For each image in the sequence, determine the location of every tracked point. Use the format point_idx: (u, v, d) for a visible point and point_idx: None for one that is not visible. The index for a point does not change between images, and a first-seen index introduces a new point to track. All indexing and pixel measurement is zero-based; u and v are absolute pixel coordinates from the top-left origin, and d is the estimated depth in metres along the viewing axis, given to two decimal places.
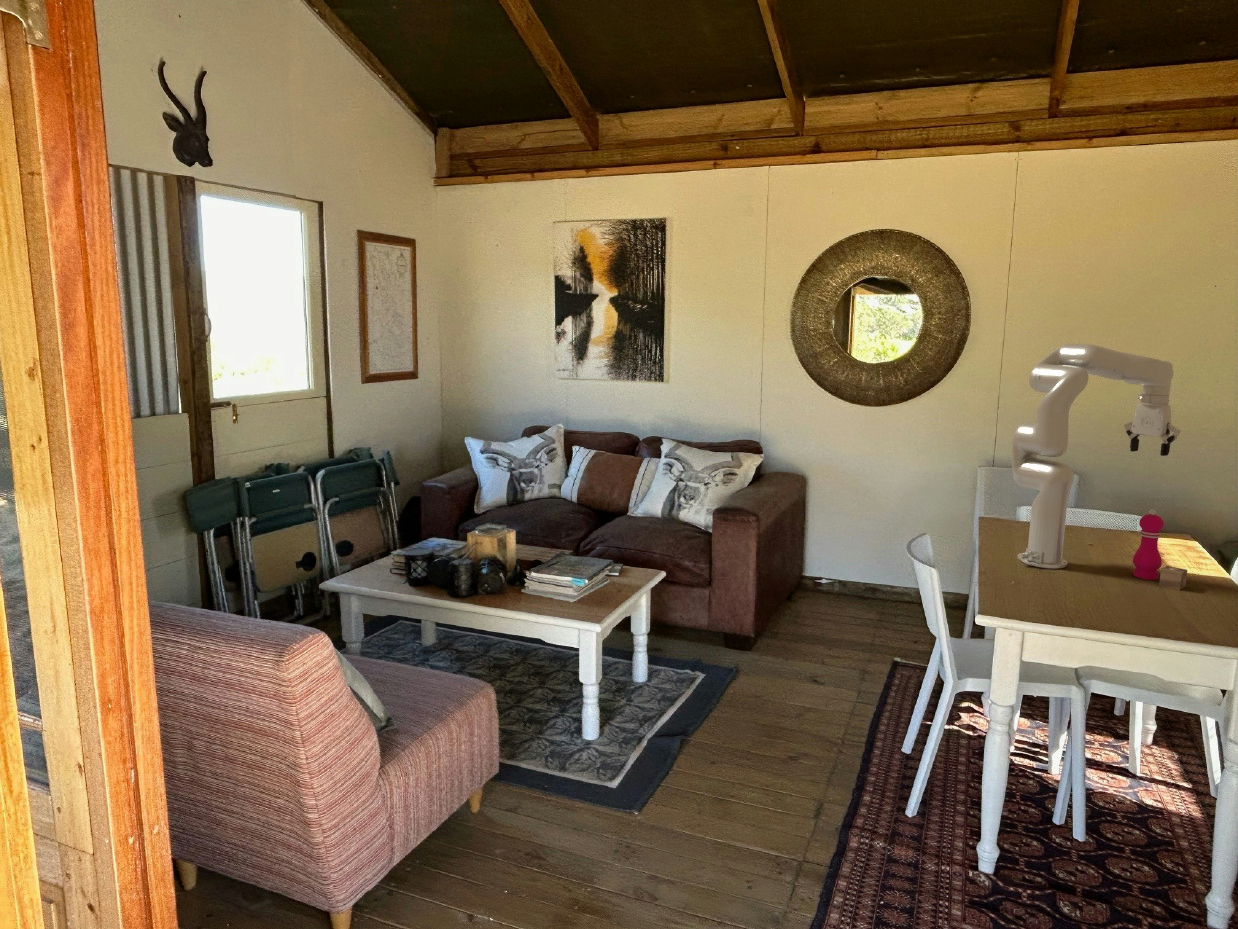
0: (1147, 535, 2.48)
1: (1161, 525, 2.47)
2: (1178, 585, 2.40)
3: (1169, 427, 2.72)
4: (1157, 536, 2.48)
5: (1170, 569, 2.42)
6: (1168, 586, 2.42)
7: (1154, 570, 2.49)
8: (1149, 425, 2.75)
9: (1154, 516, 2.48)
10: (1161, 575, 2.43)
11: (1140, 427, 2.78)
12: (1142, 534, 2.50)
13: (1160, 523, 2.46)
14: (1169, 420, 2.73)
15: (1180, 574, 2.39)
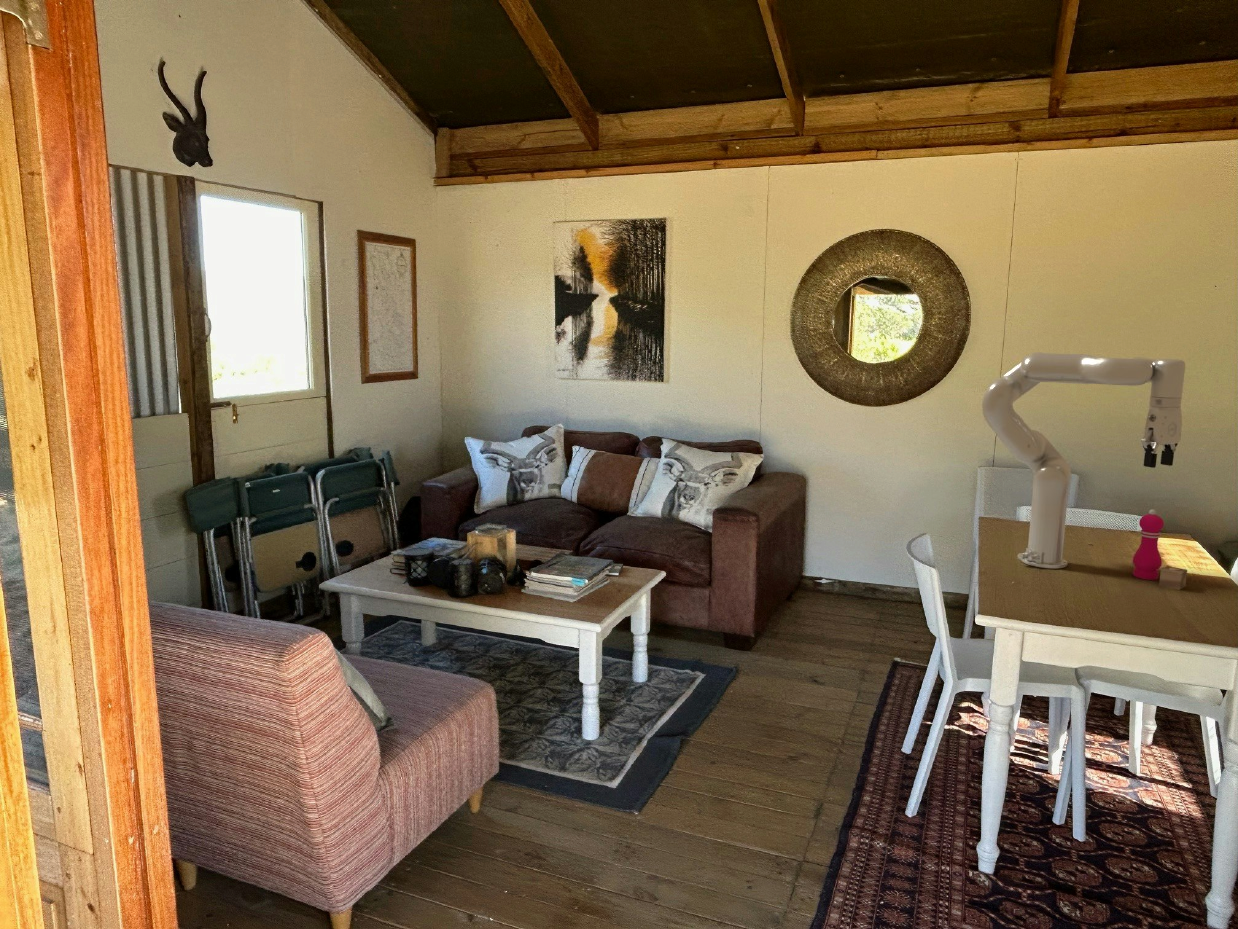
0: (1147, 535, 2.48)
1: (1161, 525, 2.47)
2: (1178, 585, 2.40)
3: None
4: (1157, 536, 2.48)
5: (1170, 569, 2.42)
6: (1168, 586, 2.42)
7: (1154, 570, 2.49)
8: (1173, 432, 2.43)
9: (1154, 516, 2.48)
10: (1161, 575, 2.43)
11: (1167, 436, 2.42)
12: (1142, 534, 2.50)
13: (1160, 523, 2.46)
14: None
15: (1180, 574, 2.39)
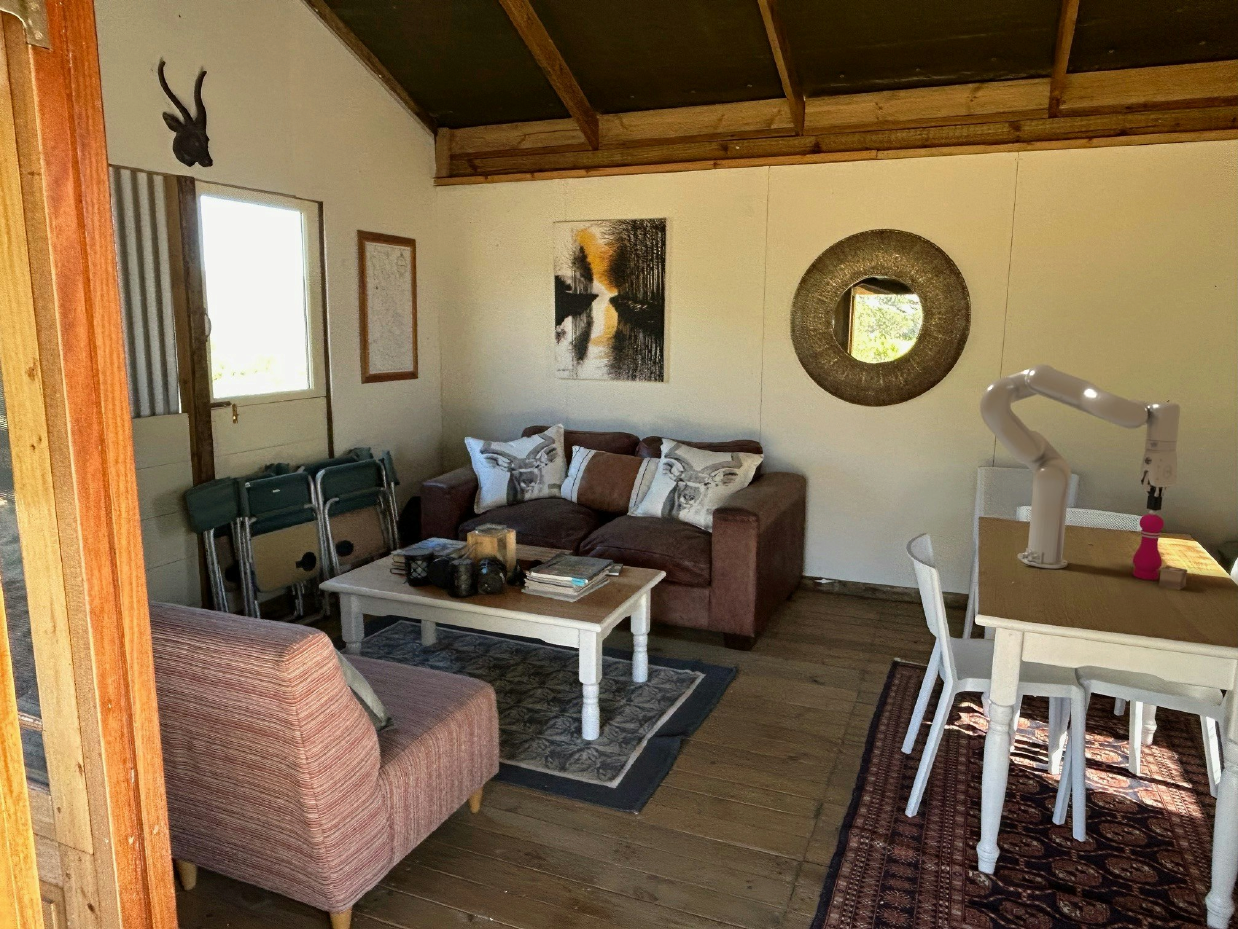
0: (1147, 535, 2.48)
1: (1161, 525, 2.47)
2: (1178, 585, 2.40)
3: None
4: (1157, 536, 2.48)
5: (1170, 569, 2.42)
6: (1168, 586, 2.42)
7: (1154, 570, 2.49)
8: (1168, 475, 2.45)
9: (1154, 516, 2.48)
10: (1161, 575, 2.43)
11: (1162, 478, 2.44)
12: (1142, 534, 2.50)
13: (1160, 524, 2.46)
14: None
15: (1180, 574, 2.39)
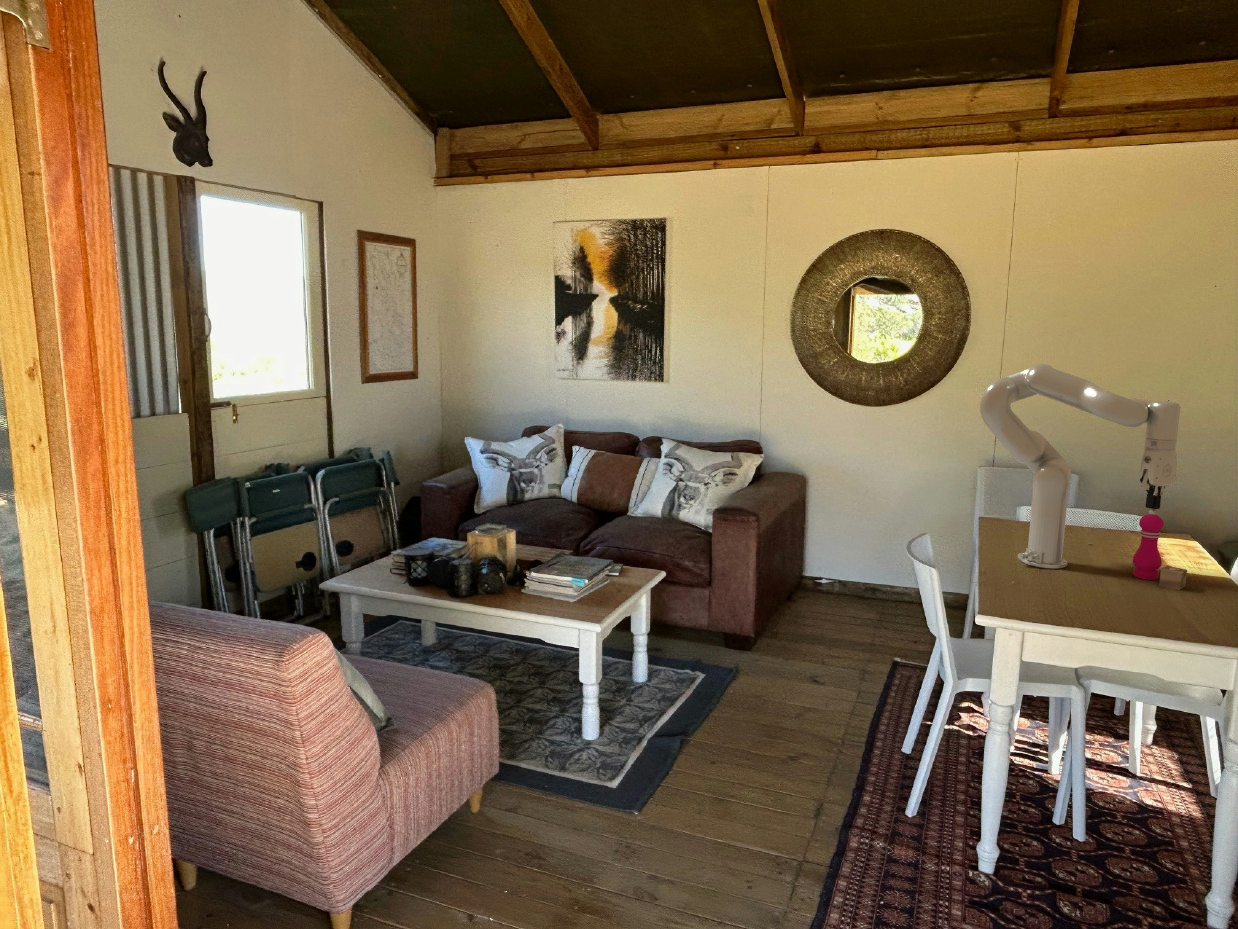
0: (1147, 535, 2.48)
1: (1161, 525, 2.47)
2: (1178, 585, 2.40)
3: None
4: (1157, 536, 2.48)
5: (1170, 569, 2.42)
6: (1168, 586, 2.42)
7: (1154, 570, 2.49)
8: (1167, 474, 2.45)
9: (1154, 516, 2.48)
10: (1161, 575, 2.43)
11: (1161, 477, 2.44)
12: (1142, 534, 2.50)
13: (1159, 523, 2.47)
14: None
15: (1180, 574, 2.39)
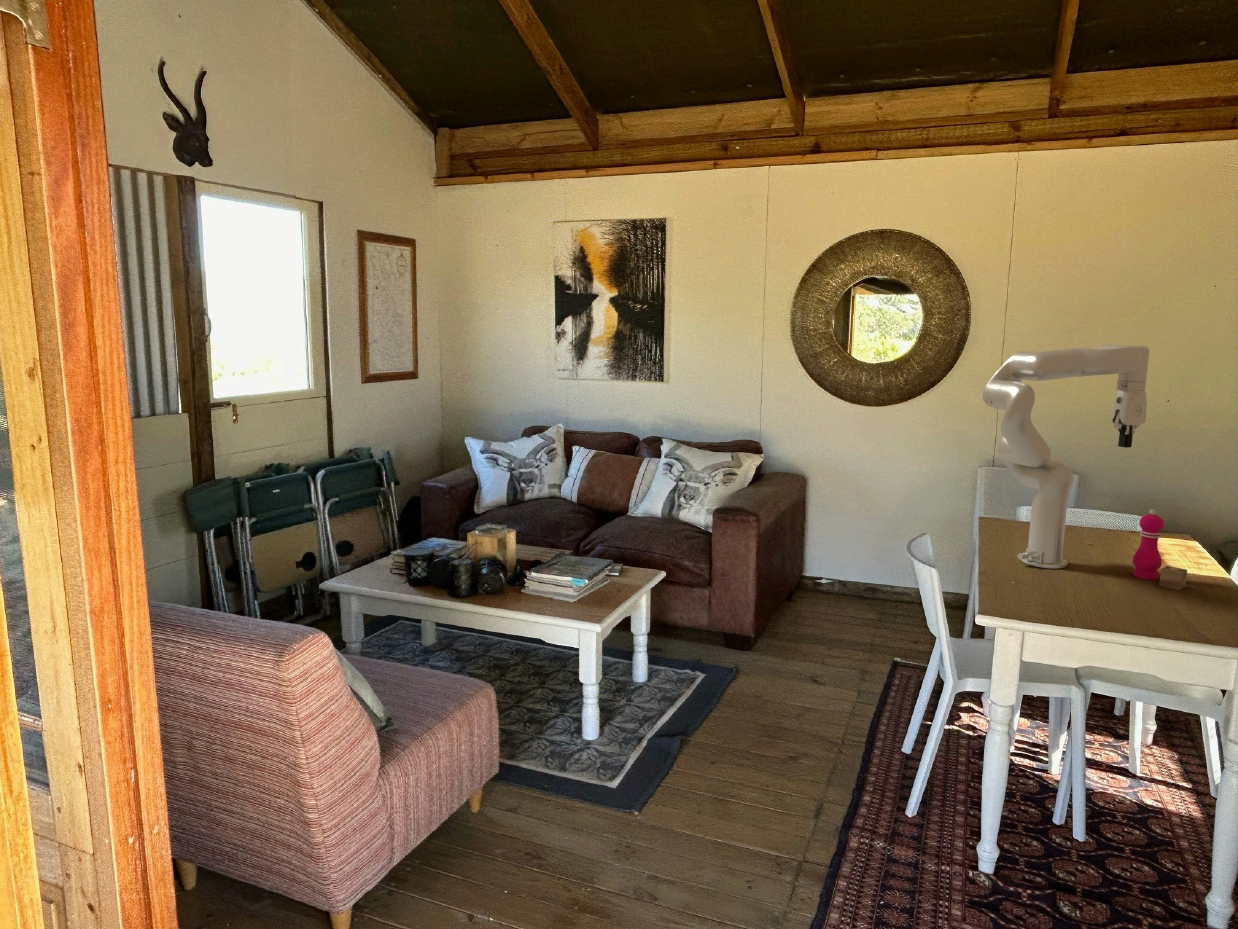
0: (1147, 535, 2.48)
1: (1161, 525, 2.47)
2: (1178, 585, 2.40)
3: None
4: (1157, 536, 2.48)
5: (1170, 569, 2.42)
6: (1168, 586, 2.42)
7: (1154, 570, 2.49)
8: (1138, 414, 2.62)
9: (1154, 516, 2.48)
10: (1161, 575, 2.43)
11: (1132, 417, 2.61)
12: (1142, 534, 2.50)
13: (1160, 523, 2.46)
14: None
15: (1180, 574, 2.39)
